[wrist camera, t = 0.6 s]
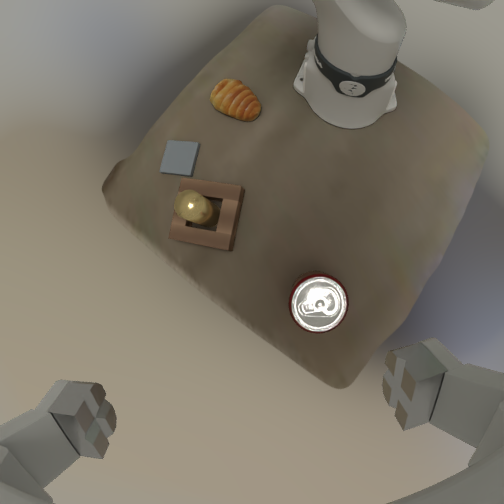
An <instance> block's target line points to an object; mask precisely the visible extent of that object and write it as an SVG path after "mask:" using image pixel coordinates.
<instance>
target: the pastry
mask: <svg viewBox="0 0 504 504" xmlns="http://www.w3.org/2000/svg"><path fill="white" fill-rule="evenodd" d="M210 101H211V103H212V104H213V106H214V107H215V109H216V110H218V111H220V112H221V113H224V114H226V115H228V116H230V117H233V118H236V119H239V120H242V121H253V120H255V119H256V118H257V117H258V115H259V113H260V111H261V104H260V102H259V101H258V99H257V97H256V96H255V95H254V94H253V92H252V91H251V89H250V88H249V87H247V86H245V85H243V84H242V82H241V81H239V80H235V79H224V80H222V81H221V82H219V83H218V84H217V85H216V86H215V88H214V90H213V91H212V93H211V97H210Z"/></svg>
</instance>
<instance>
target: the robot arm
mask: <svg viewBox="0 0 504 504" xmlns="http://www.w3.org/2000/svg"><path fill="white" fill-rule="evenodd" d="M312 1H313V3H314V5H315V7H316V12H317V19H318V34H317V35H316V36H315V38H314V40H311V39H310V40H309V41H308V44H307V50H308V53H306V54H305V59H304V61H303V64H302V66H301V68H300V70H299V72H298V74H297V77H296V79H295V81H294V85H293V87H294V89H295V90H296V91H297V92H298V93H299V94H301V95H302V96H303V97H305V99H306V100H307V102H308V103H309V105H310V107H311V108H312V110H313V111H314V112H315V113H316V114H317V115H318V116H319V117H320V118H322V119H323V120H325V121H326V122H328V123H330V124H333V125H335V126H338V127H342V128H350V129H355V128H362V127H366V126H368V125H370V124H372V123H374V122H375V121H376V120H377V119H378V118H379V117H380V116H381V115H383V114H384V113H388V112H391V111H393V110H395V109H396V106H397V101H396V96H395V89H396V86H397V81H396V80H395V76H394V71H395V68H396V63H397V53H398V51H399V48H400V46H401V44H402V41H403V39H404V36H405V34H406V20H405V17H404V14H403V12H402V11H401V9H400V8H399V6H398V5H397V4H396V3H395V2H394V0H312ZM435 1H438V2H443V3H447V4H451V5H455V6H460V7H464V8H469V9H472V10H480V9H482V8H485V7H486V6H488V5H490V4H491V3H492V2H493V1H494V0H435ZM300 80H303V81H300ZM385 365H386V366H387V367H388V370H387V371H386V373H385V374H384V376H383V383H382V386H383V394H384V396H385V400H386V401H387V403H388V405H389V406H391V407H393V408H396V411H395V417H396V419H397V421H398V422H399V424H400V426H401V427H402V429H403V431H405V430H407V429H410V428H413V427H416V426H419V425H422V424H425V423H427V422H430V424H432V425H434V426H436V427H437V428H439V429H441V430H443V431H445V432H447V433H449V434H450V435H452V436H454V437H456V438H458V439H460V440H462V441H464V442H465V443H467V444H469V445H471V446H473V447H475V448H477V449H476V451H475V452H474V454H473V455H472V457H471V459H470V461H469V463H468V466H469V467H468V468H466V469H464V470H463V471H461V472H459V473H457V474H455V475H453V476H451V477H449V478H447V479H445V480H443V481H441V482H439V483H437V484H435V485H432V486H430V487H428V488H426V489H423V490H421V491H419V492H416V493H414V494H411V495H409V496H407V497H404V498H401V499H398V500H395V501H393V502H390V503H387V504H504V373H501V372H497V371H493V370H490V369H486V368H482V367H479V366H475V365H472V364H465V365H463V364H462V363H461V362H460V361H459V360H458V359H457V358H456V357H455V356H454V355H453V354H452V353H451V352H450V351H449V350H448V349H447V348H446V347H445V346H444V345H443V344H441V343H440V342H439V341H438V340H437V339H436V338H429V339H426V340H423V341H420V342H418V343H416V344H413V345H409V346H406V347H402V348H399V349H395V350H391V351H388V352H387V355H386V358H385ZM105 396H106V393H105V390H104V389H103V386H102V385H101V384H99V383H92V382H80V381H68V380H58V381H56V382H55V383H54V385H53V386H52V387H51V389H50V390H49V391H48V393H47V394H46V395H45V397H44V398H43V399H42V401H41V402H40V403H39V405H38V406H37V407H36V409H35V410H32V409H31V410H29V411H27V412H25V413H23V414H22V415H20V416H18V417H16V418H14V419H12V420H10V421H8V422H7V423H4V424H3V425H1V426H0V504H54V503H53V500H52V498H51V496H50V495H49V494H48V493H47V492H46V491H44V489H43V488H44V487H46V486H47V485H48V484H49V483H50V482H52V481H53V480H54V479H55V478H56V477H58V476H59V475H60V474H61V473H62V472H63V471H64V470H66V469H67V468H68V467H69V466H70V465H71V464H73V463H74V462H75V461H76V460H77V459H78V458H80V456H85V457H91V458H99V459H103V458H104V455H105V453H106V450H107V448H108V446H109V442H108V439H107V438H108V437H109V436H110V435H112V434H113V433H114V431H115V428H116V414H115V410H114V408H113V406H112V405H111V404H110V403H109V402H108V401H107V400H105Z"/></svg>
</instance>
